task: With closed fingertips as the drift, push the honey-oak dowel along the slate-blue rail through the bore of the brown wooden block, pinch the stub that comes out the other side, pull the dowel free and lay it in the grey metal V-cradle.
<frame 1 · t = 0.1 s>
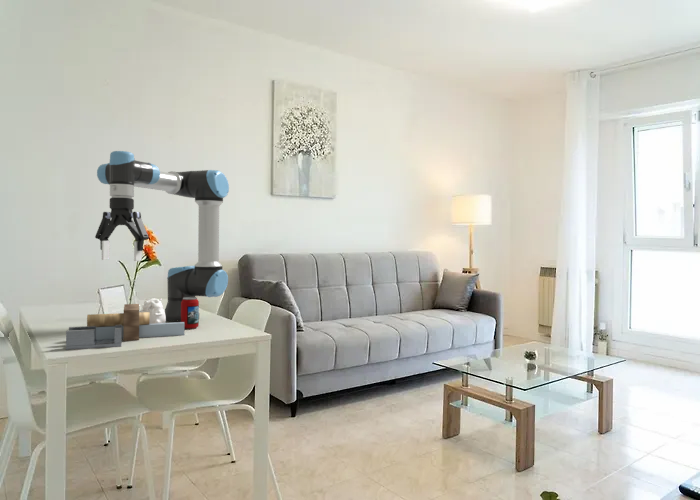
hand: (121, 260, 174), 28 cm above the table, fingers open, 13 cm apart
brown wooden block: (131, 337, 184), on the table
beverage can: (189, 328, 204), on the table
rail: (131, 337, 184), on the table
cradle: (95, 345, 170), on the table
dowel: (119, 319, 182), point 7 cm above the table, touching rail
figurine: (152, 329, 202), on the table
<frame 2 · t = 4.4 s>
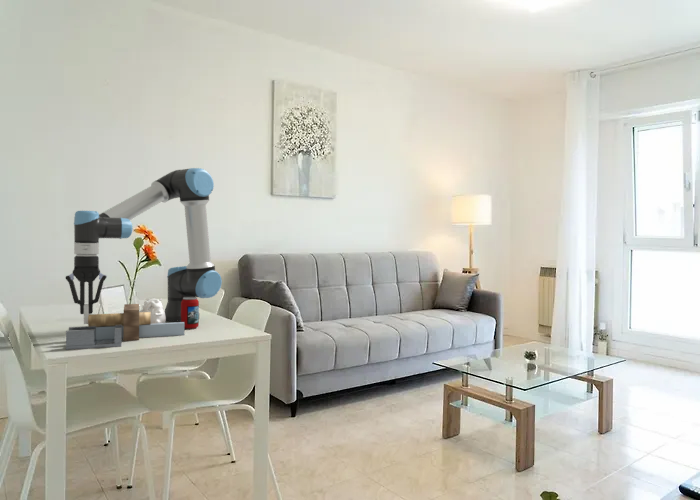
hand: (86, 323, 178), 6 cm above the table, fingers closed
dowel: (120, 319, 182), point 7 cm above the table, touching gripper
everything else where it was.
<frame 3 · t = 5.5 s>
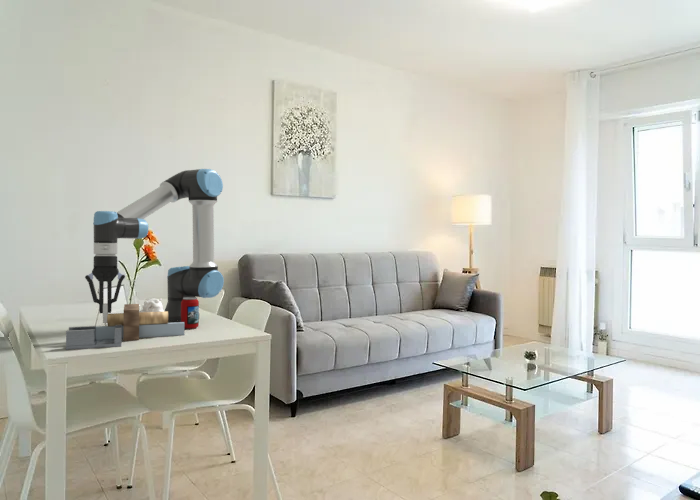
hand: (105, 322, 180), 6 cm above the table, fingers closed
dowel: (138, 318, 185), point 7 cm above the table, touching gripper
everything else where it was.
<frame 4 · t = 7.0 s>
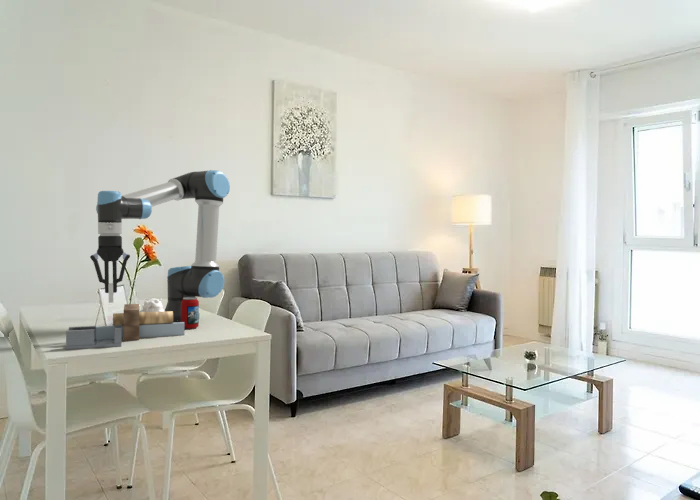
hand: (111, 302, 181), 13 cm above the table, fingers closed
dowel: (143, 318, 186), point 7 cm above the table, tilted 12°, touching rail
everything else where it was.
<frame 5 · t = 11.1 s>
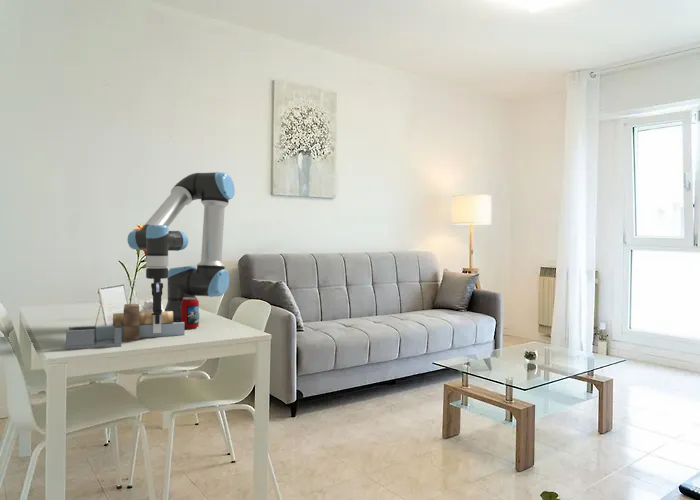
hand: (156, 331, 187), 2 cm above the table, fingers closed on dowel, 4 cm apart
dowel: (143, 318, 185), point 7 cm above the table, touching gripper, rail
everything else where it was.
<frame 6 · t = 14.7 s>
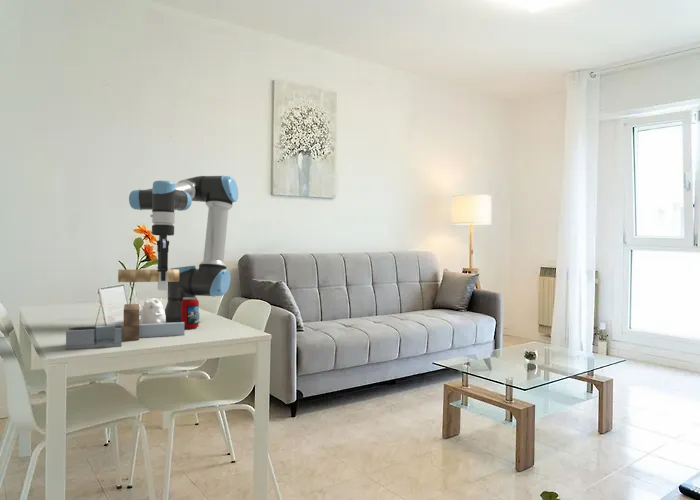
hand: (162, 289, 184), 17 cm above the table, fingers closed on dowel, 4 cm apart
dowel: (149, 275, 182), point 22 cm above the table, touching gripper
everything else where it was.
when the fingers open (2 cm above the table, at t = 18.6 s): dowel drops 1 cm, resting on cradle.
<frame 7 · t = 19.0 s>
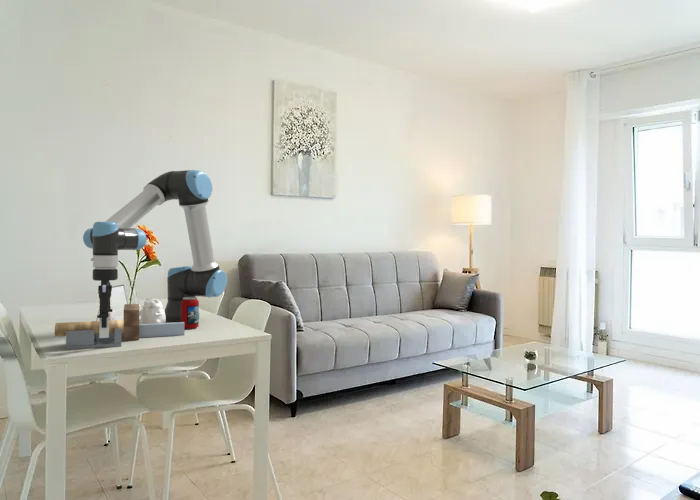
hand: (105, 334, 171), 3 cm above the table, fingers open, 10 cm apart
dowel: (90, 328, 169), point 6 cm above the table, touching cradle
everything else where it was.
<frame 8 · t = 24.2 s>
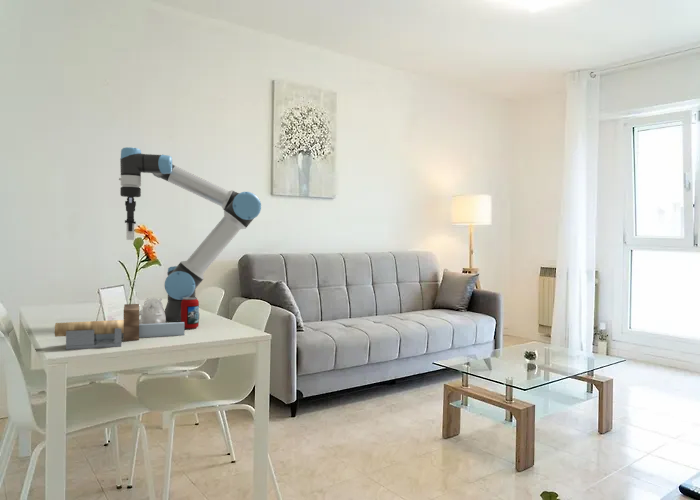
hand: (130, 239, 207), 35 cm above the table, fingers open, 13 cm apart
nothing on the table moved.
at the end: dowel inside the target area on the cradle (1.3 cm from its centre), point 5.8 cm above the cradle's base; the gripper is holding nothing; dowel touching cradle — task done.
